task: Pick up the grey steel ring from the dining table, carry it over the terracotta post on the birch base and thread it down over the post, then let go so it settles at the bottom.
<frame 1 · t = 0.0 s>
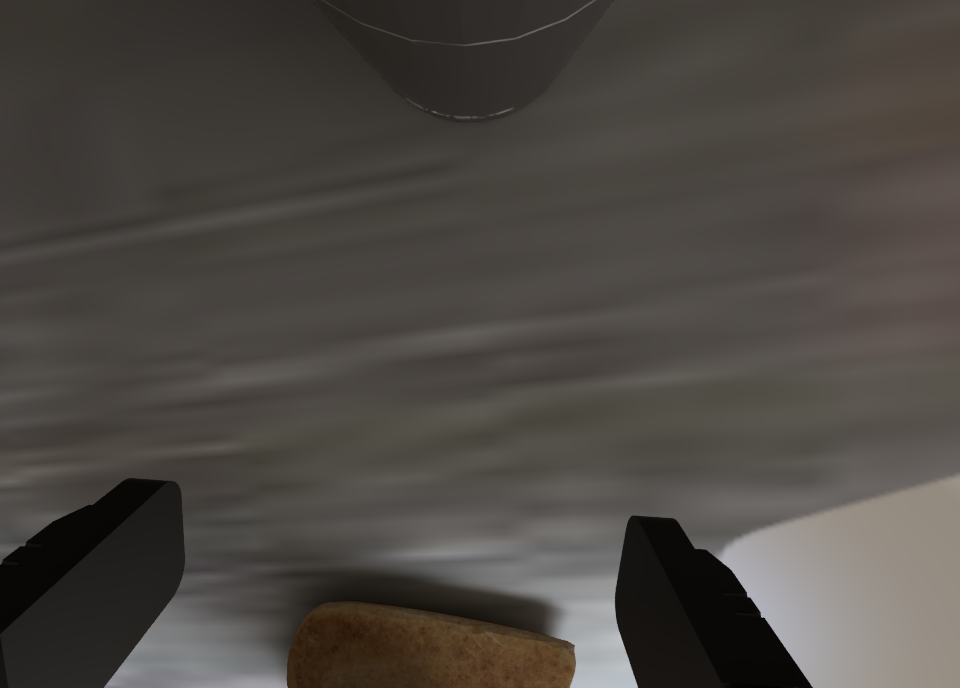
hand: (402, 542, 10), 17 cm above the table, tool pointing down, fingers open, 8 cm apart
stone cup: (422, 668, 33), on the table
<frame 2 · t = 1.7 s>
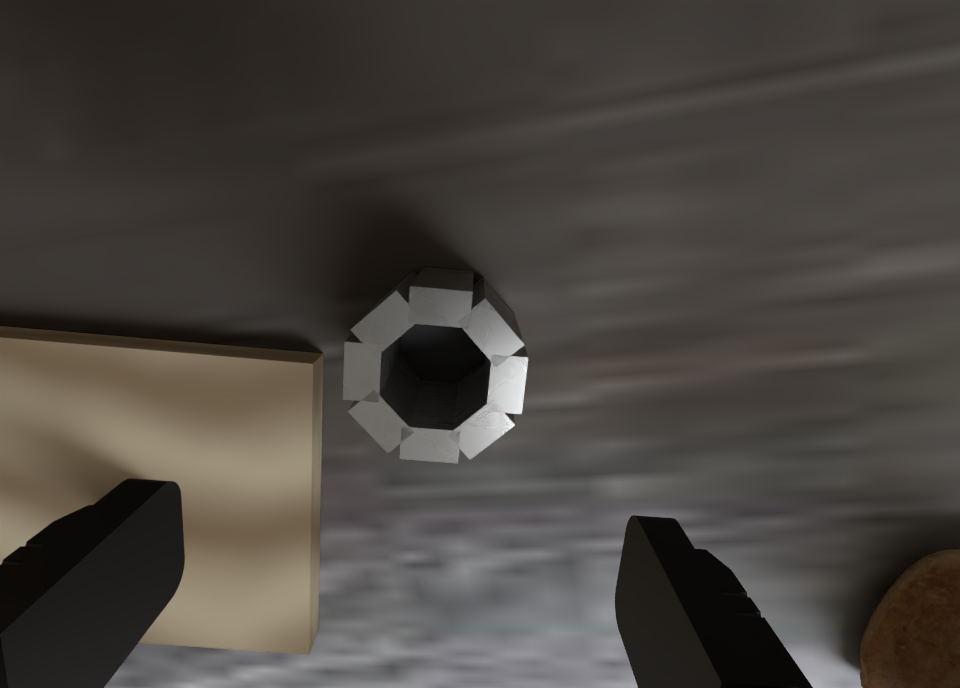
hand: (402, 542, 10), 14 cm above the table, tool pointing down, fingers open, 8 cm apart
ring: (443, 340, 23), on the table
post stand: (164, 489, 25), on the table
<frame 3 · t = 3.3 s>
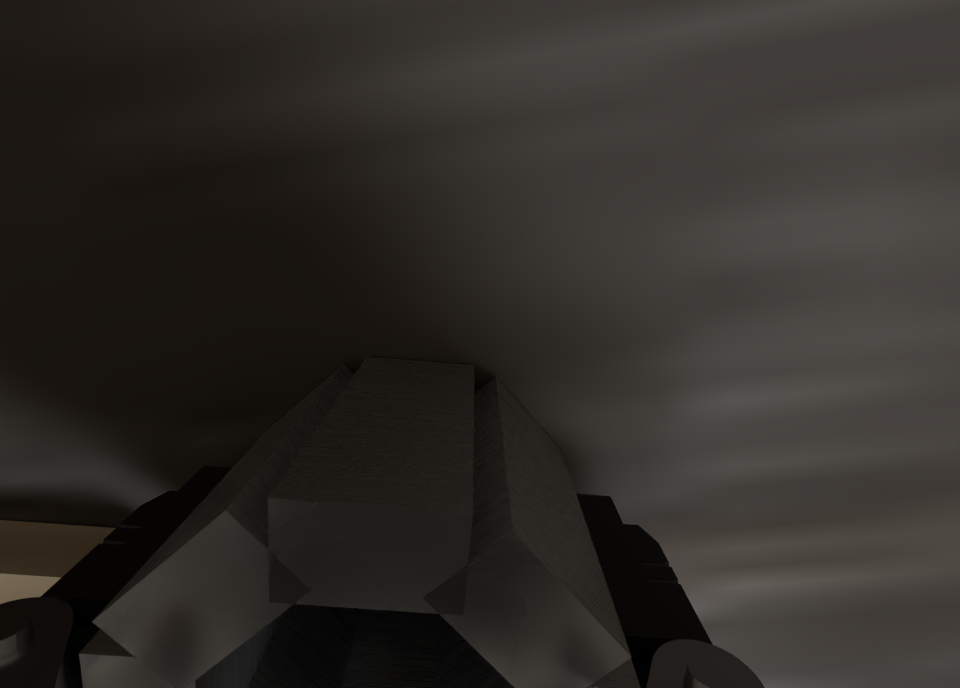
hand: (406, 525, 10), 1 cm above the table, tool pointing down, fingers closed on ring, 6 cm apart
ring: (412, 504, 11), on the table, touching gripper
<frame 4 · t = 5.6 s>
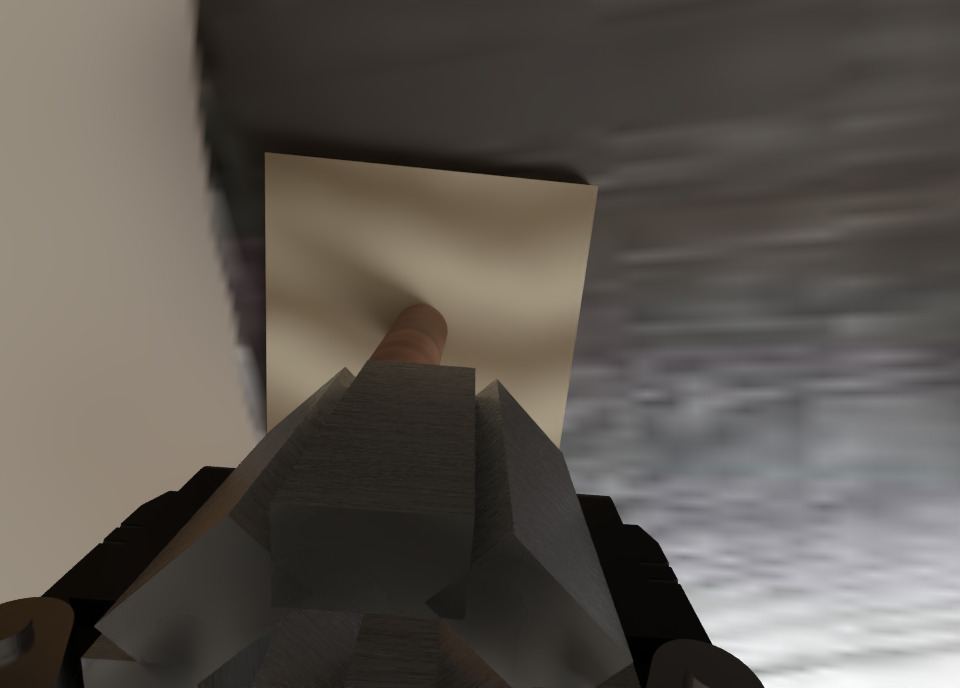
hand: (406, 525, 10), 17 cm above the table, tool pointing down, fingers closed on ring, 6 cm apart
ring: (413, 507, 11), point 16 cm above the table, touching gripper
post stand: (424, 323, 26), on the table
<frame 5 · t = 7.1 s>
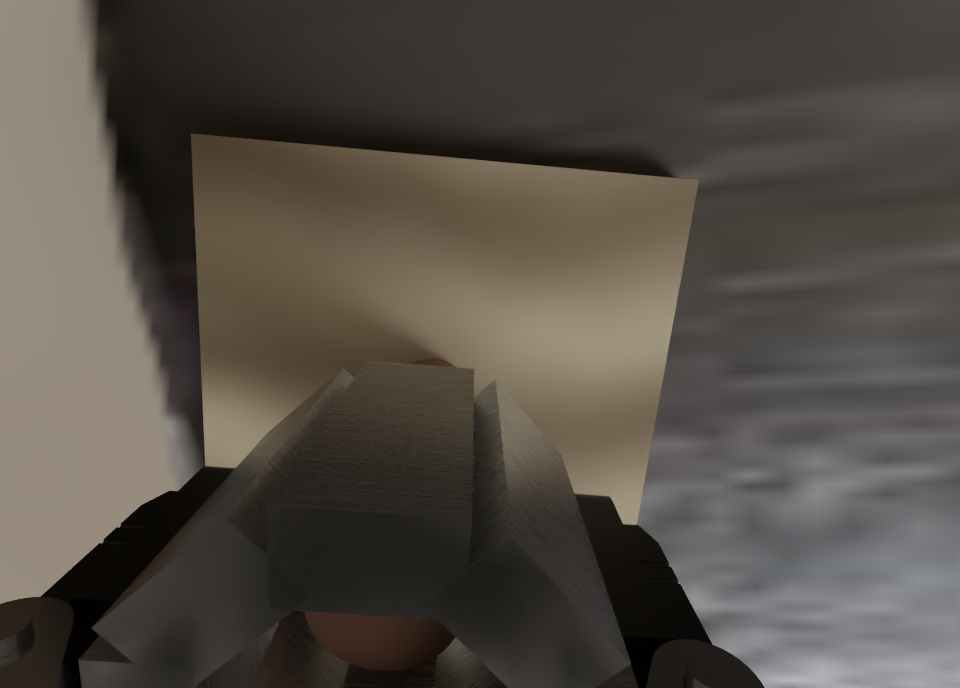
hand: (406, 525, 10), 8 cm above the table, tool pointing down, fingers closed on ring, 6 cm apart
ring: (411, 508, 11), point 8 cm above the table, touching gripper
post stand: (435, 380, 18), on the table
when the fingers open (6 cm above the table, at t = 8.1 s): ring drops 4 cm, resting on post stand.
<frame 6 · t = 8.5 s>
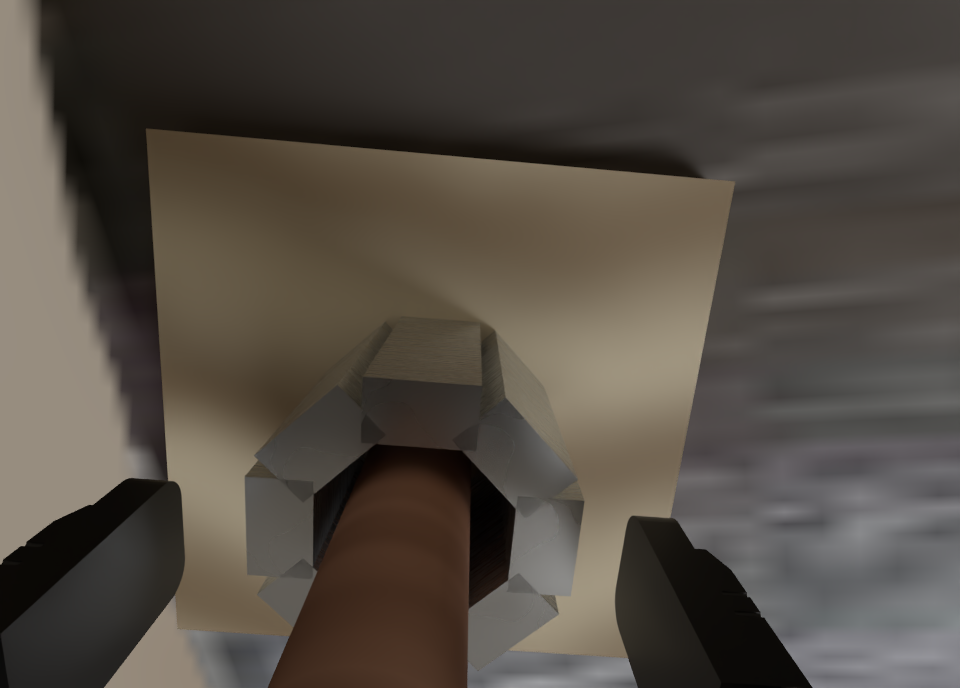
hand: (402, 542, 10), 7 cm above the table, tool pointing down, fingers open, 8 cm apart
ring: (433, 428, 15), point 1 cm above the table, touching post stand
post stand: (431, 408, 16), on the table
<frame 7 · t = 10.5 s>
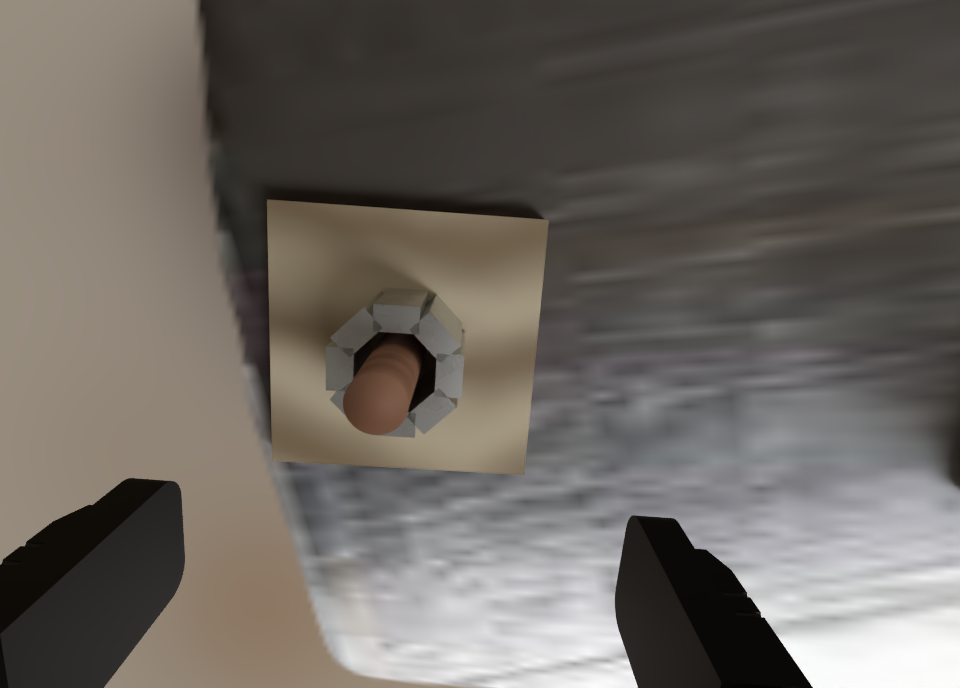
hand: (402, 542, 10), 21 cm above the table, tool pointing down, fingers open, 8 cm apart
ring: (407, 345, 29), point 1 cm above the table, touching post stand
post stand: (406, 339, 30), on the table
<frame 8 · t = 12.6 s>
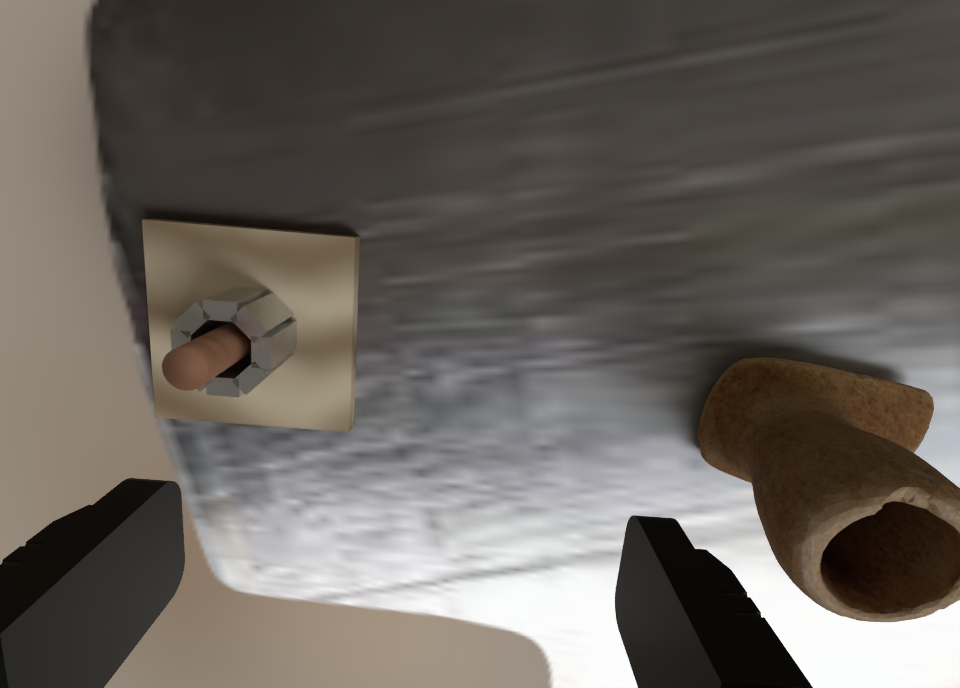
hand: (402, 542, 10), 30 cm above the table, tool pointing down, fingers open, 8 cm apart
ring: (253, 330, 38), point 1 cm above the table, touching post stand
post stand: (259, 326, 40), on the table
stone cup: (785, 431, 42), on the table
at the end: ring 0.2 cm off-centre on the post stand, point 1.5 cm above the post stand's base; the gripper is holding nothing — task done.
